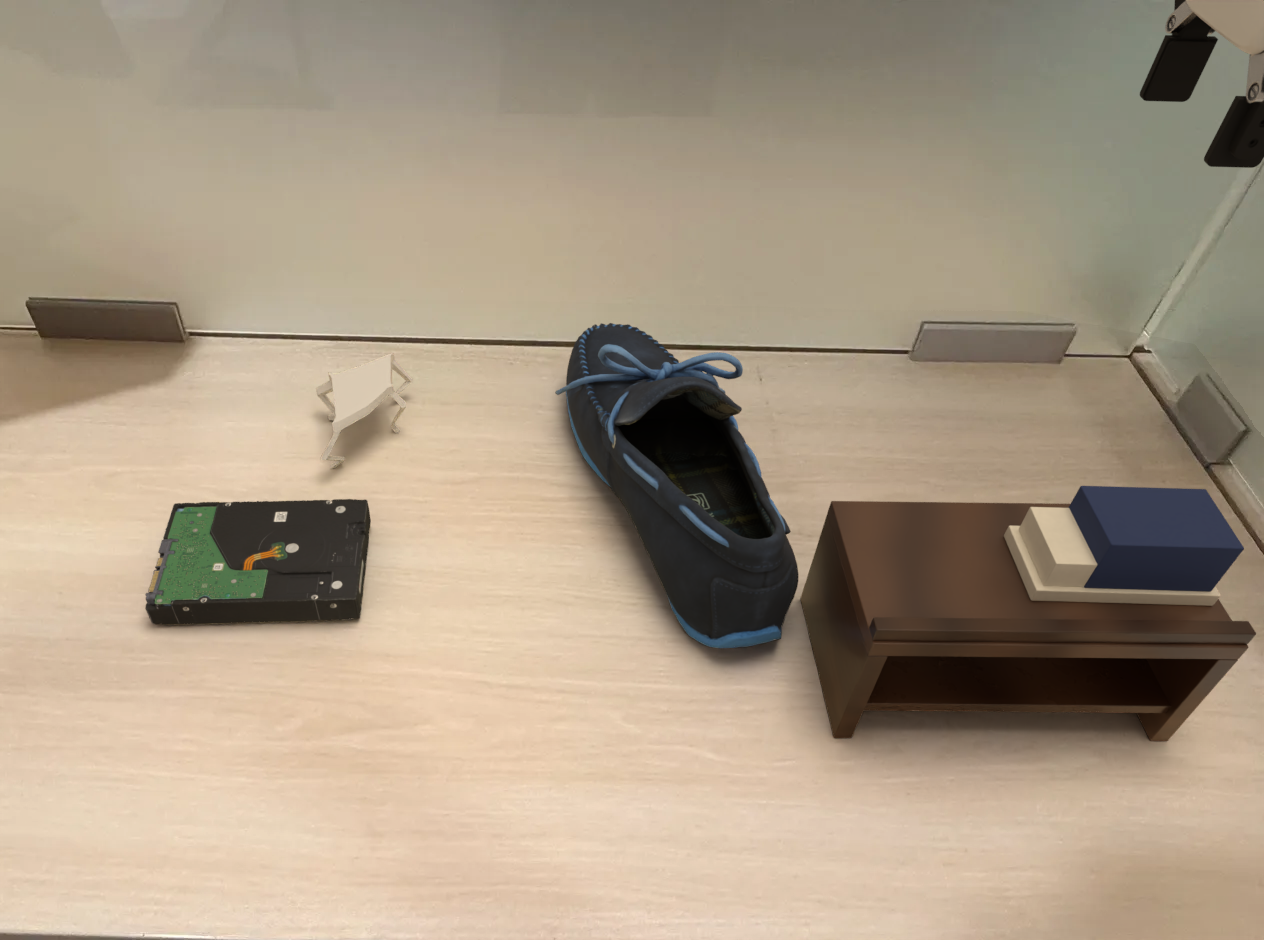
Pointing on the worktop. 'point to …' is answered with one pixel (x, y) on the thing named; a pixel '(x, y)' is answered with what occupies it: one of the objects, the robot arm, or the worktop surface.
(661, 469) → the moccasin
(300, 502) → the disk drive
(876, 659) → the shoe shelf
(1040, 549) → the navy box on tray
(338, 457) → the cream bent-legged table
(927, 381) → the worktop surface
